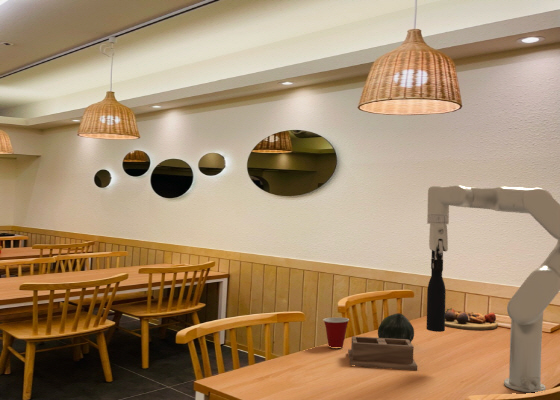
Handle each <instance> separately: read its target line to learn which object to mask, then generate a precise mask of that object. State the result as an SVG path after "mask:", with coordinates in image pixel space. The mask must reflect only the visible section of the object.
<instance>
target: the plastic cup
mask: <svg viewBox="0 0 560 400" xmlns="http://www.w3.org/2000/svg"><path fill="white" fill-rule="evenodd" d="M322 321H323V322H324V325H325V331H326V332H325V333H326V338H327V345H329V346H331V347H342V348H343V347H344V344H345V343H344V342H345V338H346V334H347V333H346V332H347V329H348V323H349V321H350V319H349V318H347V317H326V318H323V319H322ZM329 346H328V347H329Z"/></svg>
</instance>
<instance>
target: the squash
mask: <svg viewBox="0 0 560 400" xmlns="http://www.w3.org/2000/svg"><path fill="white" fill-rule="evenodd" d="M414 336H415V329H414V326H413V325H412V323H411V322H410V320H409V319H408V318H407V317H406V316H405V315H404V314H403V313H401V312H400V313H393V314H390V315H389V316H386V317H385V318H383V320H382V321H381V322H380V324H379V326H378V328H377V338H391V339H409V341H410V342H411V343H412V341H413V340H414V338H415V337H414Z"/></svg>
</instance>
